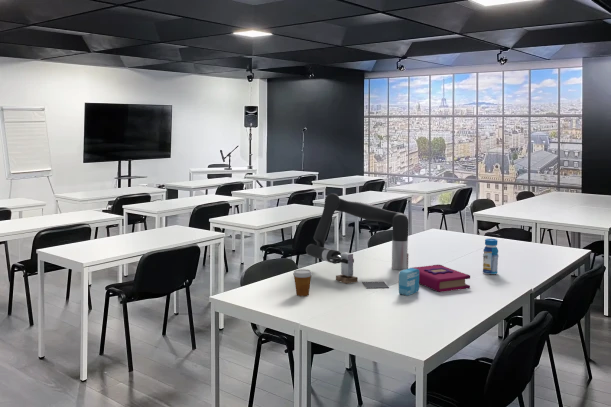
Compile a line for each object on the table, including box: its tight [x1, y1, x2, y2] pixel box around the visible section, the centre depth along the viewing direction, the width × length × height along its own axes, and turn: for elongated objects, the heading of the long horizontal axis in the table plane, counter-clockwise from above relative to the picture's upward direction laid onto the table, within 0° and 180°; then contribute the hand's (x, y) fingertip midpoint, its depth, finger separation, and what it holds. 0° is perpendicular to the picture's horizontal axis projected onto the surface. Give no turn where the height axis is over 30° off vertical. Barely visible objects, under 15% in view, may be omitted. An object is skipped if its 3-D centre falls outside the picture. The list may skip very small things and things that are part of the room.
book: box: [412, 264, 471, 293], centre depth 300 cm, size 21×28×8 cm
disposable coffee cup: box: [293, 268, 313, 297], centre depth 280 cm, size 10×10×12 cm
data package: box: [398, 267, 420, 296], centre depth 282 cm, size 12×4×12 cm, turn 136°
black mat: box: [362, 280, 390, 290], centre depth 297 cm, size 12×12×1 cm
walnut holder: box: [335, 274, 358, 285], centre depth 306 cm, size 10×7×2 cm
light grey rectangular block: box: [340, 251, 354, 276], centre depth 305 cm, size 6×4×12 cm, turn 35°
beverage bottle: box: [482, 238, 499, 275], centre depth 320 cm, size 8×8×20 cm
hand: (350, 261), depth 302 cm, fingers closed on light grey rectangular block, 3 cm apart
